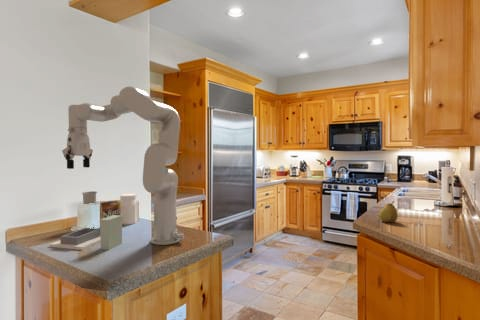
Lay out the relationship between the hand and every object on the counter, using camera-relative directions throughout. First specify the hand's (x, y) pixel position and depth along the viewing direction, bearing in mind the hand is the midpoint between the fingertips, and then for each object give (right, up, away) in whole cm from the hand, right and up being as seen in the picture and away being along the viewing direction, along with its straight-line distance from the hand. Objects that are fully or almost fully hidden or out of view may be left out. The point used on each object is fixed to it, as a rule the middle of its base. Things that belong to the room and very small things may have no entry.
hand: (78, 168), depth 137 cm
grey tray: (+8, -32, -12) cm, 35 cm away
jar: (+15, -31, +23) cm, 41 cm away
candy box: (+14, -31, +3) cm, 34 cm away
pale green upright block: (+23, -32, -17) cm, 43 cm away
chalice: (-1, -31, +12) cm, 33 cm away
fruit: (+158, -31, +24) cm, 163 cm away
